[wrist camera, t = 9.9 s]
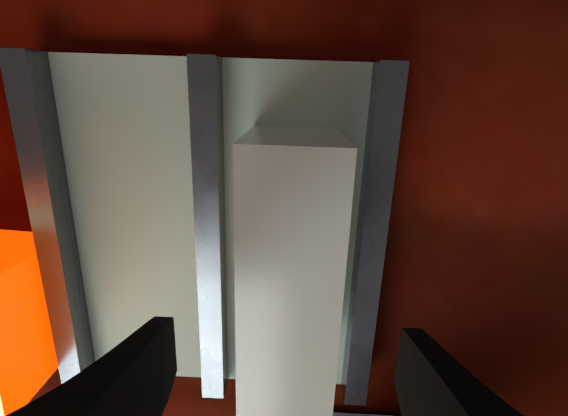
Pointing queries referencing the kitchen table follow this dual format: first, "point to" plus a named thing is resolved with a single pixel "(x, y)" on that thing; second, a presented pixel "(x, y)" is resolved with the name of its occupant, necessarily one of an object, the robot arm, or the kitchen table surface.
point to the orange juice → (22, 323)
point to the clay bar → (290, 266)
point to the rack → (184, 192)
